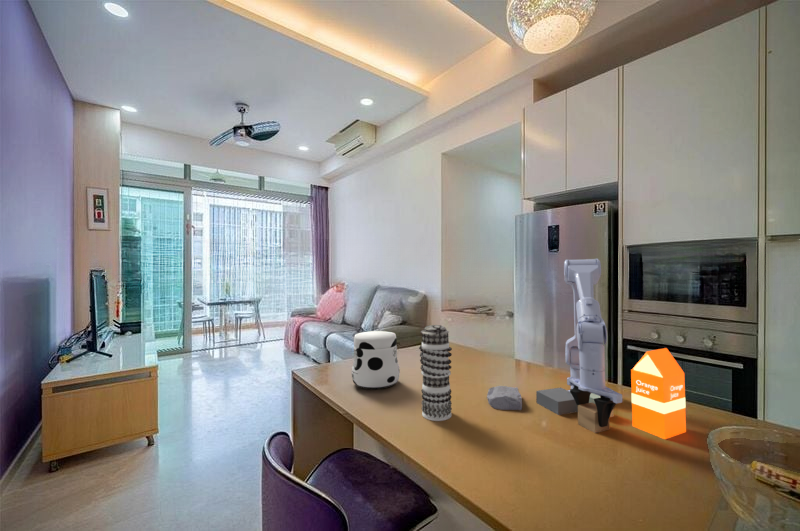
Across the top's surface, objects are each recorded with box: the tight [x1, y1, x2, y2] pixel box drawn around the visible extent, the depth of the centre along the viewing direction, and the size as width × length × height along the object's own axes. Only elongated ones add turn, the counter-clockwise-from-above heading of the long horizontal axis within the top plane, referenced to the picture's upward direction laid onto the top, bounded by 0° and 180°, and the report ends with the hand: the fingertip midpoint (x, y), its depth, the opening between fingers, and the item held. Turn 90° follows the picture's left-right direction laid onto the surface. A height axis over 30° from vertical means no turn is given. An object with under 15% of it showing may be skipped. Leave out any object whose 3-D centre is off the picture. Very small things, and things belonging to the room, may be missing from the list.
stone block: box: [486, 385, 523, 411], centre depth 104 cm, size 12×5×10 cm
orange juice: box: [630, 347, 687, 440], centre depth 85 cm, size 8×9×20 cm
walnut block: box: [577, 402, 611, 434], centre depth 87 cm, size 5×5×5 cm
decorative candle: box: [418, 324, 453, 422], centre depth 96 cm, size 9×9×25 cm
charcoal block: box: [535, 387, 578, 416], centre depth 100 cm, size 9×9×4 cm
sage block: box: [589, 393, 614, 418], centre depth 94 cm, size 5×5×5 cm
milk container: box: [351, 330, 401, 390], centre depth 122 cm, size 17×17×18 cm
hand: (593, 421), depth 87 cm, fingers closed on walnut block, 5 cm apart
